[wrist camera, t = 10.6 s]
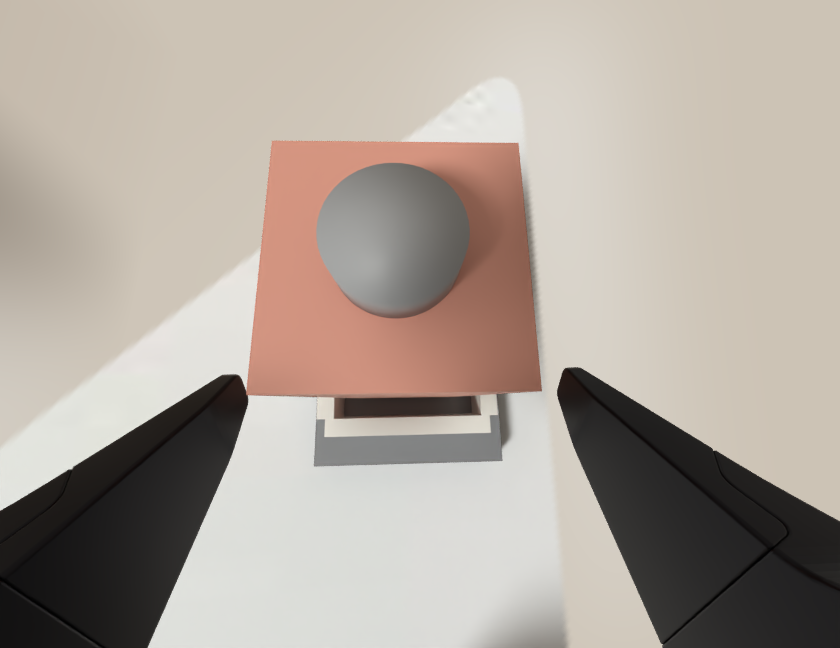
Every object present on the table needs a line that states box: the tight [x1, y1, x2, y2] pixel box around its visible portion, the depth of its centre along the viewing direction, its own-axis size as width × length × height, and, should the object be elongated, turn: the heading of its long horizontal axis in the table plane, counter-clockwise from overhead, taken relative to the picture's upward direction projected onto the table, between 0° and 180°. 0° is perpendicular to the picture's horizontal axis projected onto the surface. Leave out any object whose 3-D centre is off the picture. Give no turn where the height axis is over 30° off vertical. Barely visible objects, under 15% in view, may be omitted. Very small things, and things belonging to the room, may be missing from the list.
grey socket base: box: [314, 394, 502, 466], centre depth 18 cm, size 12×10×4 cm
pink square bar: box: [246, 141, 542, 398], centre depth 12 cm, size 5×5×14 cm
